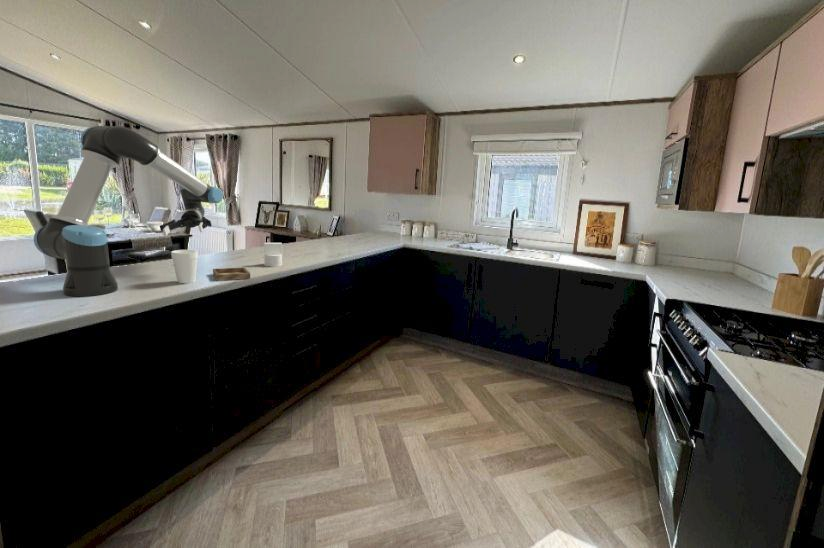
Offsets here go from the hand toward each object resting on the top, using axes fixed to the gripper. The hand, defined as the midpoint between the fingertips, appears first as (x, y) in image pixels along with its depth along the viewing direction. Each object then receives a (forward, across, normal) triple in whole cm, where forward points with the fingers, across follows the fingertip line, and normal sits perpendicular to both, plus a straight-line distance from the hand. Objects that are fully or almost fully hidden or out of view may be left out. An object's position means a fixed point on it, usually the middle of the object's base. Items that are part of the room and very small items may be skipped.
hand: (182, 231), depth 159 cm
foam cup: (+12, +1, -19) cm, 22 cm away
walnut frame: (+3, -15, -23) cm, 27 cm away
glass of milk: (-23, -32, -31) cm, 50 cm away
